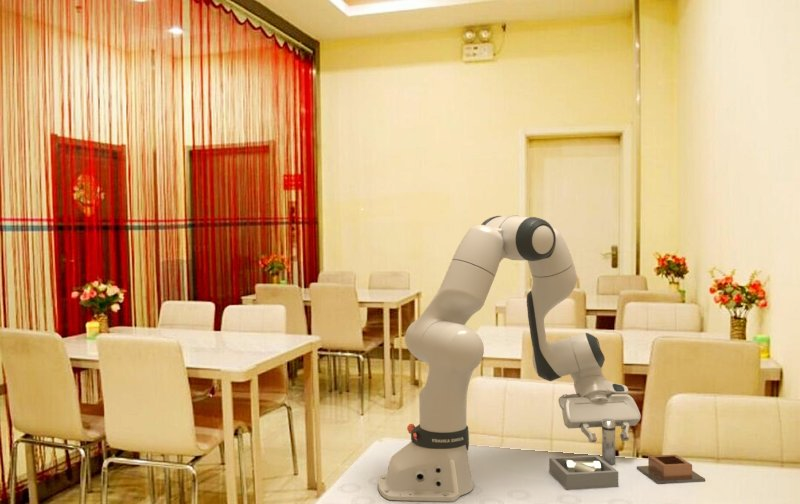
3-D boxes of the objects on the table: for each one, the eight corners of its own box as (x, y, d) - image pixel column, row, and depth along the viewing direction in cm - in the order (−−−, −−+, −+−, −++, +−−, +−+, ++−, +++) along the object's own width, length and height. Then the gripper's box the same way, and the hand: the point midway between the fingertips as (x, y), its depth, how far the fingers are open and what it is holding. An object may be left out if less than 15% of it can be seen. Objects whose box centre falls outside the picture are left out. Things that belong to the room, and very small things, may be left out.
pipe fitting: (604, 486, 149) (598, 473, 156) (604, 470, 149) (598, 458, 156) (569, 485, 150) (565, 472, 157) (569, 469, 150) (565, 457, 157)
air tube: (605, 465, 161) (605, 422, 161) (599, 460, 164) (599, 418, 164) (617, 464, 162) (617, 422, 161) (612, 460, 165) (611, 418, 165)
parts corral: (566, 489, 146) (566, 474, 146) (549, 471, 157) (549, 457, 157) (618, 486, 147) (618, 471, 147) (597, 468, 159) (597, 455, 159)
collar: (657, 484, 149) (657, 468, 149) (636, 468, 159) (636, 454, 159) (705, 481, 150) (705, 466, 150) (681, 466, 160) (681, 452, 160)
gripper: (559, 388, 168) (574, 436, 159) (632, 386, 171) (651, 432, 161) (553, 401, 173) (567, 448, 163) (624, 398, 175) (642, 444, 166)
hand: (609, 440), depth 162 cm, fingers open, 7 cm apart
